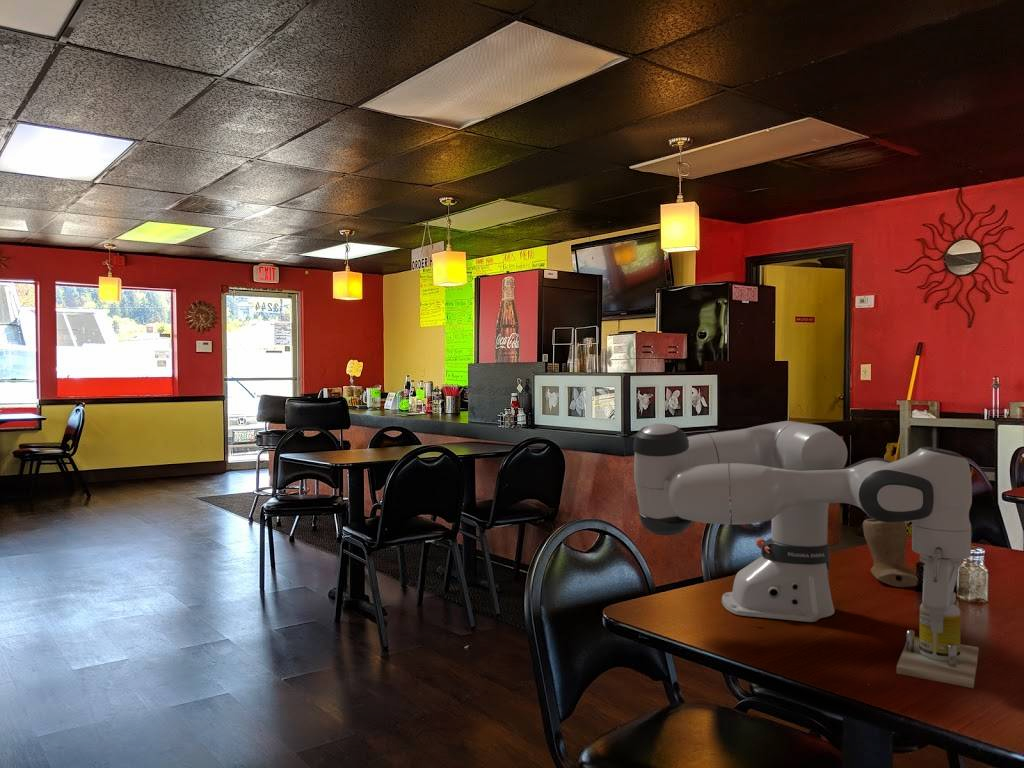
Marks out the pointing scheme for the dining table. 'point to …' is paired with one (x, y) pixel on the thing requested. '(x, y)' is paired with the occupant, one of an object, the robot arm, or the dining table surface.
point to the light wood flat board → (940, 666)
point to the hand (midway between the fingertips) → (939, 623)
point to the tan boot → (889, 552)
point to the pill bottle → (938, 643)
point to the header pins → (951, 648)
